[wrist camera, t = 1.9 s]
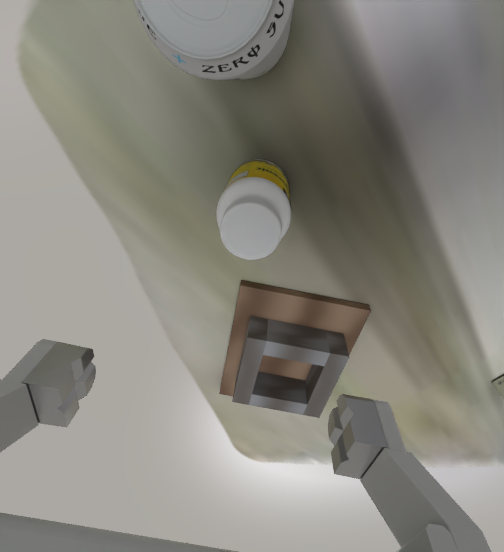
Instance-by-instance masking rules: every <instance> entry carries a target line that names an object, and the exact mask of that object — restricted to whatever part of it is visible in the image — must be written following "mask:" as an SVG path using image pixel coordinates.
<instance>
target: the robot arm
mask: <svg viewBox="0 0 504 552" xmlns="http://www.w3.org/2000/svg"><path fill="white" fill-rule="evenodd" d="M93 357H94V354H93V350H92V349H90V348H85V347H80V346H76V345H71V344H66V343H61V342H56V341H51V340H45V339H43V340H41V341H39V342H37V343H36V345H34V347H33V348H32V349H31V350H30V351H29V352H28V353H27V354H26V355H25V356H24V357H23V358H22V360H20V362H19V363H18V364H17V365H16V366H15V367H14V368H13V369H12V370H11V371H10V372H9V373H8V374H7V375H6V377H5V378H4V379H3V380H1V379H0V452H1V451H3V450H4V449H6V448H7V447H8V446H10V445H11V444H12V443H14V442H15V441H17V440H18V439H19V438H21V437H22V436H23V435H25V434H26V433H28V432H29V431H30V430H32V429H33V428H35V427H36V426H38V423H41V424H48V425H55V426H62V427H68V425H69V424H70V422H71V420H72V418H73V417H74V416H75V414H76V412H77V410H78V409H79V403H78V400H80V399H82V398H83V397H85V396H87V394H88V393H89V391H90V389H91V388H92V384H93V382H94V379H95V374H96V369H95V366H94V364H93V363H92V362H91V360H92V359H93ZM337 405H338V407H336V408H334V409H332V411H331V413H330V416H329V421H328V434H329V439H330V440H331V442H332V443H333V444H334V448H333V450H332V451H331V456H332V462H333V469H334V474H337V475H342V476H348V477H352V478H358V479H361V483H362V484H363V486H364V488H365V489H366V491H367V492H368V494H369V496H370V497H371V499H372V500H373V502H374V504H375V505H376V507H377V509H378V510H379V512H380V514H381V515H382V517H383V518H384V520H385V522H386V523H387V525H388V526H389V528H390V530H391V531H392V533H393V535H394V536H395V538H396V539H397V541H398V543H399V544H400V546H401V548H400V549H399V550H398V551H397V552H491V550H490V548H489V546H488V544H487V541H486V539H485V537H484V535H483V532H482V531H481V530H480V529H479V527H478V526H477V525H476V524H475V523H474V522H473V521H472V520H471V519H470V517H469V516H468V515H467V514H466V513H465V512H464V511H463V510H462V509H461V507H460V506H459V505H457V503H456V502H455V501H454V500H453V499H452V498H451V496H450V495H449V494H448V493H447V492H446V491H445V490H444V489H443V488H442V486H441V485H440V484H439V483H438V482H437V481H436V480H435V479H434V478H433V476H431V474H430V473H429V472H428V471H427V470H426V469H425V468H424V467H423V465H422V464H421V463H420V462H419V461H418V460H417V459H416V458H415V457H414V455H413V454H412V453H410V452H406V449H405V446H404V444H403V441H402V438H401V435H400V432H399V429H398V427H397V424H396V421H395V418H394V415H393V412H392V410H391V407H390V405H389V404H388V402H383V401H378V400H371V399H368V398H362V397H356V396H350V395H345V394H342V395H340V396H339V398H338V399H337ZM0 552H237V551H231V550H225V549H218V548H212V547H206V546H200V545H194V544H188V543H182V542H176V541H170V540H164V539H158V538H152V537H145V536H139V535H133V534H127V533H121V532H115V531H109V530H103V529H97V528H90V527H85V526H79V525H72V524H66V523H60V522H54V521H48V520H42V519H36V518H30V517H24V516H17V515H12V514H5V513H0Z"/></svg>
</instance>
